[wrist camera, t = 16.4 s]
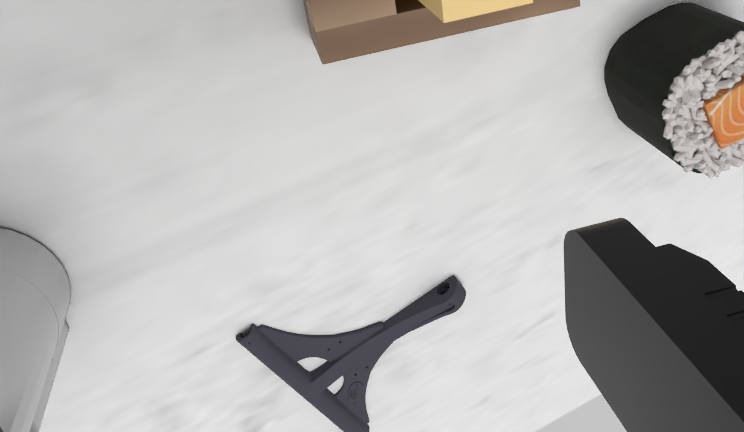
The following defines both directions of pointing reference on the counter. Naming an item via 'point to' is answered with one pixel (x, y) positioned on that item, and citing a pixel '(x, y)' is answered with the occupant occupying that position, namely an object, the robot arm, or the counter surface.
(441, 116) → the counter surface
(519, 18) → the socket block
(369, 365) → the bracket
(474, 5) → the peg
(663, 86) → the sushi
